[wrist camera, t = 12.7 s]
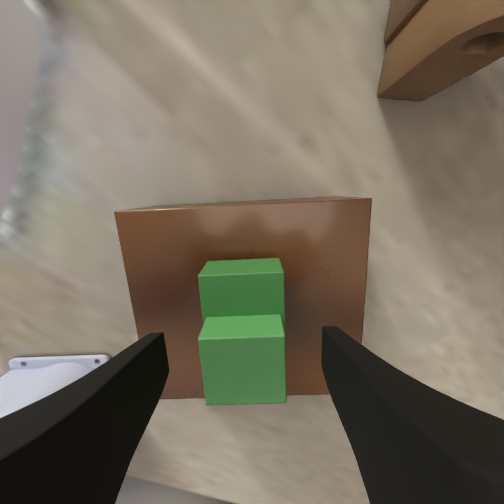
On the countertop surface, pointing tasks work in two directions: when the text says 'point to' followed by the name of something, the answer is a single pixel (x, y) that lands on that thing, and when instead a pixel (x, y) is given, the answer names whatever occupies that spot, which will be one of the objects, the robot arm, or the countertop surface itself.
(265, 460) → the countertop surface
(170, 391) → the lid
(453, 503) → the robot arm
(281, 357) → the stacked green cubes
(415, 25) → the wooden toy
